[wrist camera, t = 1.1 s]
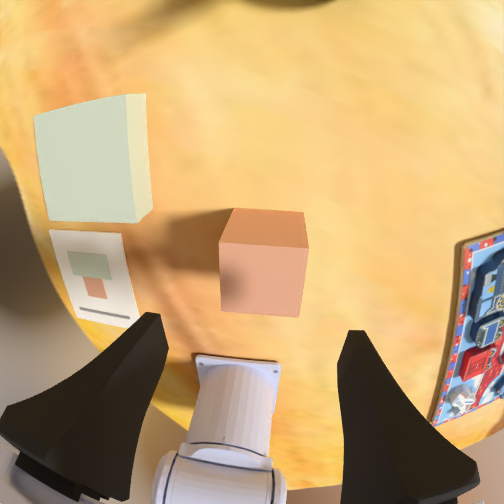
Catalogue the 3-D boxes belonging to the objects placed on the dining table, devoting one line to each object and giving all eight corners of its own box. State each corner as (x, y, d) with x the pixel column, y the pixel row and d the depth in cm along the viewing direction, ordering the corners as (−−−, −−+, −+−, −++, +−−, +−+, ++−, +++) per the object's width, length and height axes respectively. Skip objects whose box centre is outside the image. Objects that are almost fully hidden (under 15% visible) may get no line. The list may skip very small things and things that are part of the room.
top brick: (296, 271, 21) (298, 317, 17) (234, 266, 21) (221, 311, 17) (303, 212, 19) (308, 248, 14) (234, 207, 19) (218, 242, 15)
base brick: (155, 206, 20) (136, 223, 17) (71, 206, 21) (49, 220, 18) (148, 93, 16) (126, 93, 14) (59, 110, 17) (33, 115, 14)
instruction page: (143, 329, 26) (142, 331, 25) (78, 316, 26) (76, 318, 26) (121, 232, 21) (119, 234, 21) (49, 229, 21) (47, 230, 21)
